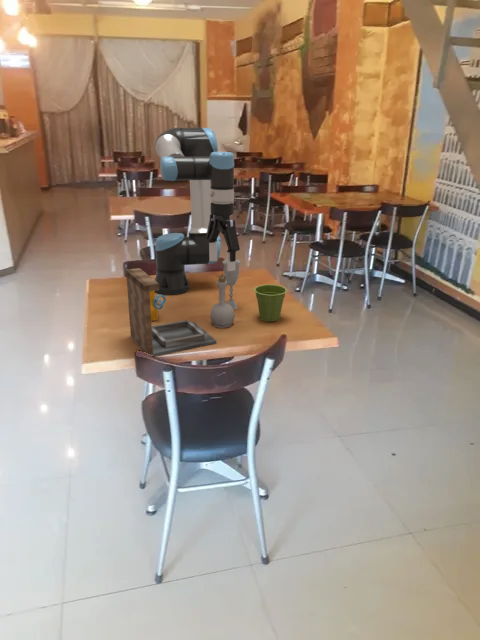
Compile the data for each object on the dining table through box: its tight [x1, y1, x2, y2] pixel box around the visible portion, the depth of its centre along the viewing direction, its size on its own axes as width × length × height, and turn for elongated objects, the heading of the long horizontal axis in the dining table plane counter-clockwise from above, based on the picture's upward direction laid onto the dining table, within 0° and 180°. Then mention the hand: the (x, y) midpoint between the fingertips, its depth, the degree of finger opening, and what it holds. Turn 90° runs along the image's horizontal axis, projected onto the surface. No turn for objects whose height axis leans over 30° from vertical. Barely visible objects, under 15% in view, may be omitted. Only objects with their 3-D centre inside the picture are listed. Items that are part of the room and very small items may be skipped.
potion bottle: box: [209, 273, 236, 329], centre depth 175 cm, size 9×9×18 cm
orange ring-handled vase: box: [150, 277, 167, 322], centre depth 179 cm, size 12×10×15 cm
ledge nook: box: [125, 267, 217, 357], centre depth 161 cm, size 18×23×23 cm
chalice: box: [222, 259, 241, 310], centre depth 192 cm, size 7×7×18 cm
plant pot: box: [253, 284, 288, 322], centre depth 182 cm, size 12×12×11 cm
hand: (222, 265), depth 170 cm, fingers open, 13 cm apart
